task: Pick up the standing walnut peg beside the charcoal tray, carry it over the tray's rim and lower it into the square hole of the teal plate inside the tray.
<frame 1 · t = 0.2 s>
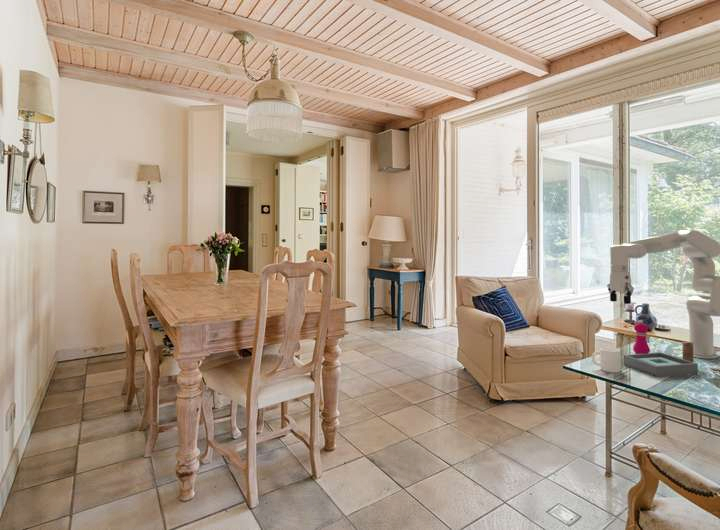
hand: (620, 302, 203), 31 cm above the table, tool pointing down, fingers open, 9 cm apart
pepper mill: (641, 358, 210), on the table
tray: (658, 369, 190), on the table
peg: (688, 367, 191), on the table
mug: (606, 370, 194), on the table
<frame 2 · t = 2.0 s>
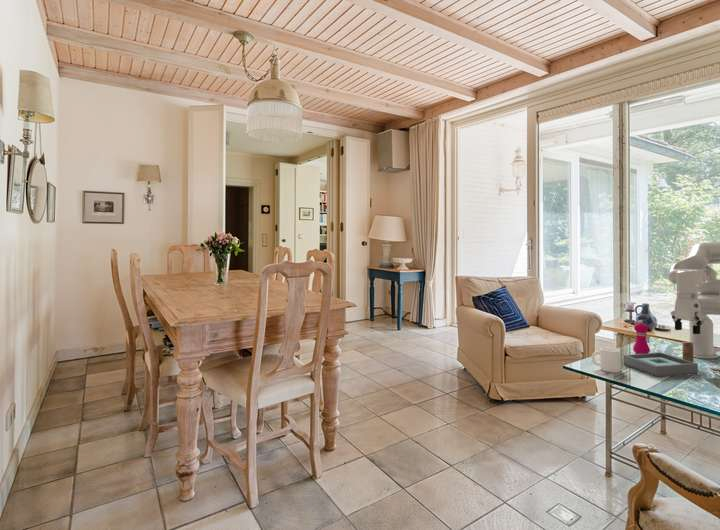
hand: (687, 331, 190), 17 cm above the table, tool pointing down, fingers open, 9 cm apart
nothing on the table moved.
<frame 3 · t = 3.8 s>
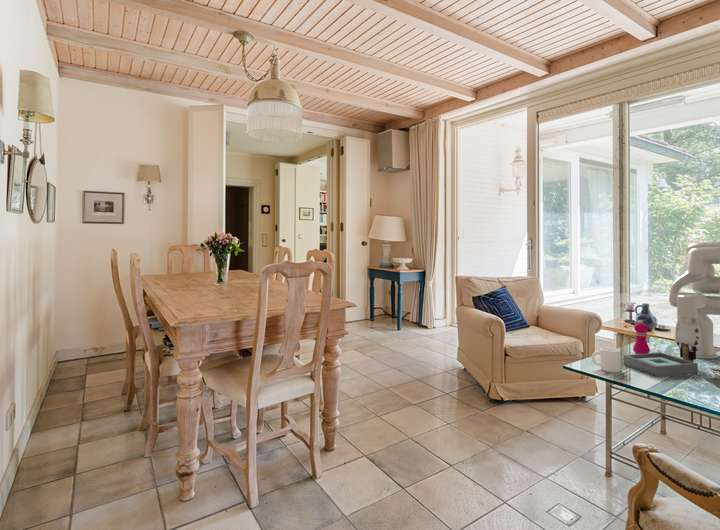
hand: (687, 357, 191), 5 cm above the table, tool pointing down, fingers closed on peg, 4 cm apart
peg: (688, 367, 191), on the table, touching gripper
everything else where it was.
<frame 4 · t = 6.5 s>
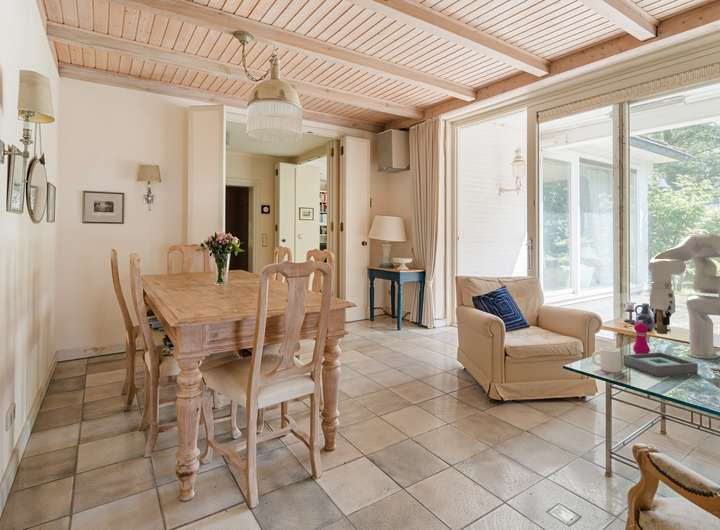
hand: (661, 323, 189), 22 cm above the table, tool pointing down, fingers closed on peg, 4 cm apart
peg: (661, 333, 189), point 17 cm above the table, touching gripper
everything else where it was.
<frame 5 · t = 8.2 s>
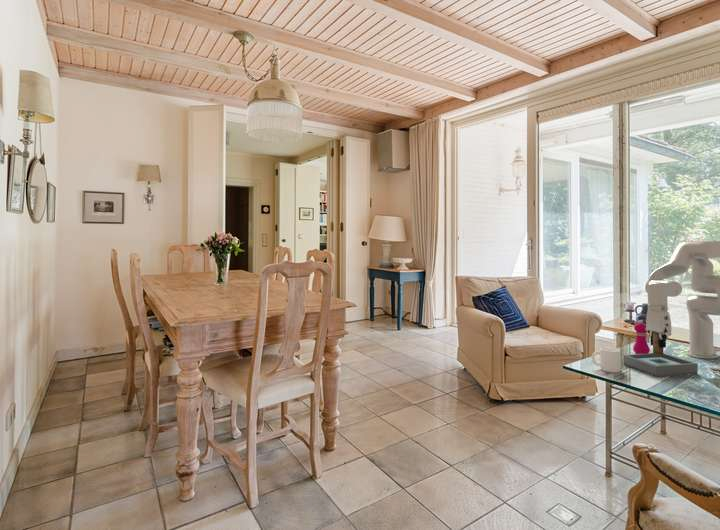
hand: (658, 345, 190), 11 cm above the table, tool pointing down, fingers closed on peg, 4 cm apart
peg: (658, 355, 190), point 7 cm above the table, touching gripper
everything else where it was.
when the fingers open (7 cm above the table, at t = 9.5 s): peg drops 1 cm, resting on tray.
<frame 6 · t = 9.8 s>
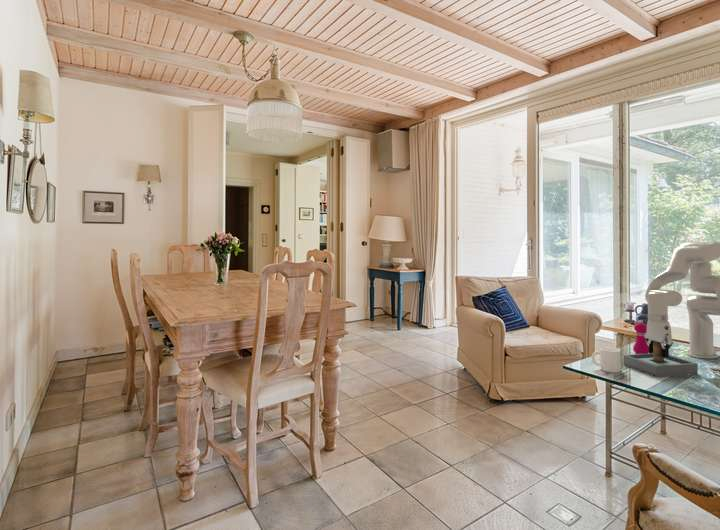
hand: (658, 354, 190), 7 cm above the table, tool pointing down, fingers open, 6 cm apart
peg: (658, 367, 190), point 1 cm above the table, touching tray
everything else where it was.
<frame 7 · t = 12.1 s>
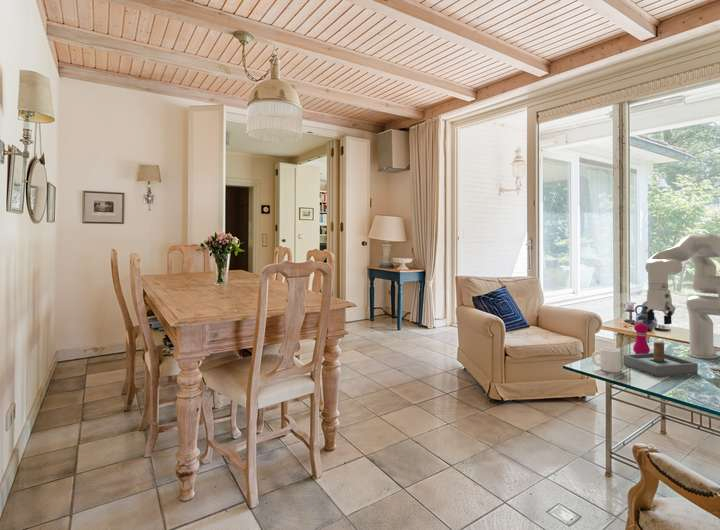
hand: (659, 322, 190), 23 cm above the table, tool pointing down, fingers open, 9 cm apart
nothing on the table moved.
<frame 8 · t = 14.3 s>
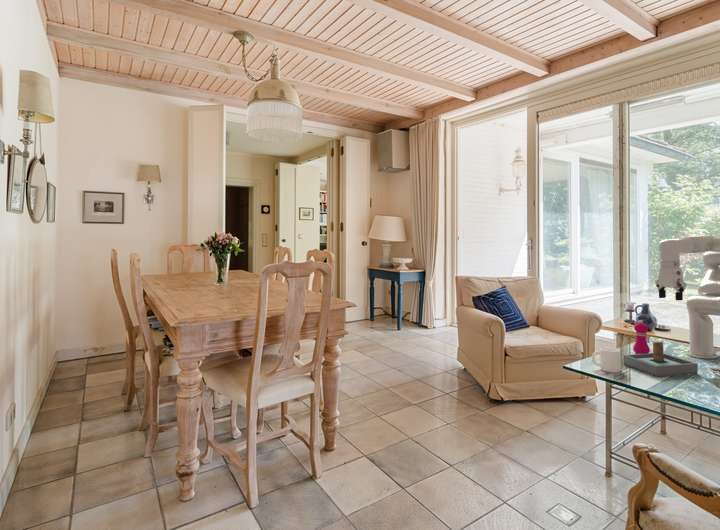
hand: (670, 299, 197), 32 cm above the table, tool pointing down, fingers open, 9 cm apart
nothing on the table moved.
at the end: peg 0.1 cm off-centre on the tray, point 1.1 cm above the tray's base; peg tilted 2°; the gripper is holding nothing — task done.
